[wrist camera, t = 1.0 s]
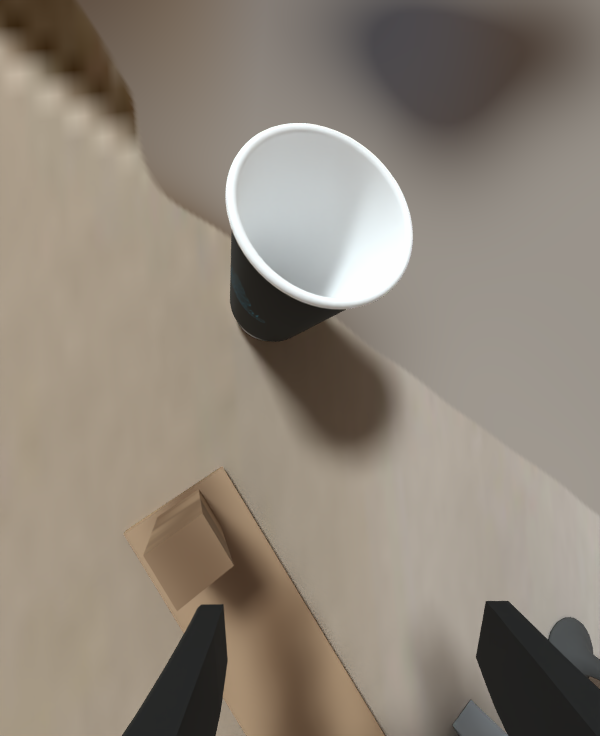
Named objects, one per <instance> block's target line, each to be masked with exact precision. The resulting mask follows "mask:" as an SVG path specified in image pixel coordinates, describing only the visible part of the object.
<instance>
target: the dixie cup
mask: <svg viewBox="0 0 600 736" xmlns="http://www.w3.org/2000/svg"><path fill="white" fill-rule="evenodd" d="M226 208H227V214H228V217H229V222H230V226H231V228H232V238H231V283H230V304H231V309H232V312H233V315H234V317H235V319H236V320H237V322H238V323H239V325H240V326H241V328H242V329H243V330H244V331H245V332H246V333H248V334H249V335H251V336H252V337H254V338H257V339H260V340H264V341H273V342H276V341H283V340H286V339H289V338H291V337H293V336H295V335H297V334H299V333H301V332H303V331H305V330H307V329H309V328H310V327H312V326H314V325H316V324H318V323H320V322H322V321H324V320H326V319H328V318H330V317H332V316H334V315H336V314H338V313H340V312H342V311H344V310H346V309H351V308H357V307H361V306H365V305H368V304H370V303H373V302H375V301H376V300H378V299H380V298H382V297H383V296H384V295H386V294H387V293H389V292H390V291H391V290H392V289H393V288H394V287H395V285H396V284H397V283H398V282H399V280H400V279H401V277H402V276H403V274H404V272H405V270H406V268H407V266H408V263H409V260H410V256H411V252H412V244H413V229H412V222H411V217H410V212H409V209H408V206H407V203H406V200H405V198H404V196H403V193H402V191H401V190H400V187H399V186H398V184H397V182H396V181H395V179H394V178H393V176H392V175H391V173H390V172H389V171H388V170H387V168H386V167H385V166H384V165H383V164H382V162H381V161H380V160H379V159H378V158H377V157H376V156H375V155H373V154H372V153H371V152H370V151H369V150H368V149H366V148H365V147H364V146H362V145H361V144H360V143H358V142H357V141H355V140H353V139H352V138H350V137H348V136H346V135H344V134H342V133H340V132H337V131H335V130H333V129H329V128H327V127H323V126H319V125H313V124H304V123H292V124H284V125H279V126H275V127H272V128H270V129H267V130H265V131H263V132H261V133H259V134H257V135H256V136H254V137H253V138H252V139H251V140H249V141H248V142H247V143H246V144H245V145H244V146H243V147H242V149H241V150H240V151H239V153H238V154H237V156H236V157H235V159H234V161H233V163H232V166H231V168H230V171H229V174H228V178H227V183H226Z"/></svg>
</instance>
